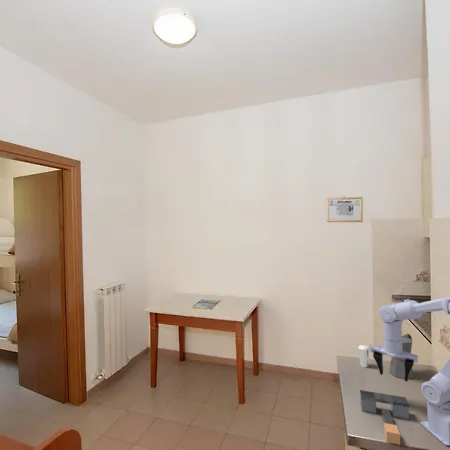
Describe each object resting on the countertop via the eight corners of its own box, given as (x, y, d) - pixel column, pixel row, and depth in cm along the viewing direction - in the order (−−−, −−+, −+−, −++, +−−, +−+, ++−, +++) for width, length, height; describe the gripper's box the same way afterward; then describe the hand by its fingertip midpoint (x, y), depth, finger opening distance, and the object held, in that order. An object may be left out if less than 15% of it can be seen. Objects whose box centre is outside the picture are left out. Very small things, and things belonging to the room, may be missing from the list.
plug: (379, 416, 93) (379, 407, 93) (391, 418, 91) (391, 409, 92) (386, 442, 81) (386, 431, 81) (400, 445, 80) (399, 434, 80)
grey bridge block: (360, 404, 99) (359, 389, 99) (405, 412, 94) (405, 397, 94) (361, 411, 95) (361, 396, 96) (409, 419, 91) (408, 404, 91)
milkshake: (373, 368, 124) (372, 346, 124) (360, 367, 125) (359, 345, 125) (370, 364, 129) (369, 342, 129) (357, 363, 130) (356, 341, 130)
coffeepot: (405, 383, 112) (403, 338, 112) (381, 373, 120) (380, 331, 120) (423, 372, 120) (422, 330, 120) (400, 364, 128) (399, 324, 128)
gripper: (368, 337, 101) (369, 375, 101) (416, 347, 92) (417, 388, 92) (371, 331, 107) (372, 367, 107) (417, 340, 98) (418, 379, 98)
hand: (393, 376), depth 100 cm, fingers open, 7 cm apart
